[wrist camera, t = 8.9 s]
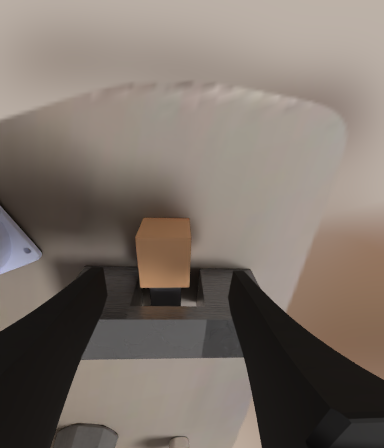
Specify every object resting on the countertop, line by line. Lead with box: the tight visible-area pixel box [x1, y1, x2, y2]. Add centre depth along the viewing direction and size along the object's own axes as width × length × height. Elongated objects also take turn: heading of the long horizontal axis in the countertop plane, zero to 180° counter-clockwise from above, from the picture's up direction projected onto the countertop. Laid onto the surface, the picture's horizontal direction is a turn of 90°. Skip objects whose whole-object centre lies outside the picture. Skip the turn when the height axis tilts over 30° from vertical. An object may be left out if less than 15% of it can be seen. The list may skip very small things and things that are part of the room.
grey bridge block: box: [76, 266, 260, 360], centre depth 15 cm, size 4×14×5 cm, turn 86°
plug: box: [135, 218, 191, 306], centre depth 16 cm, size 12×3×3 cm, turn 178°
